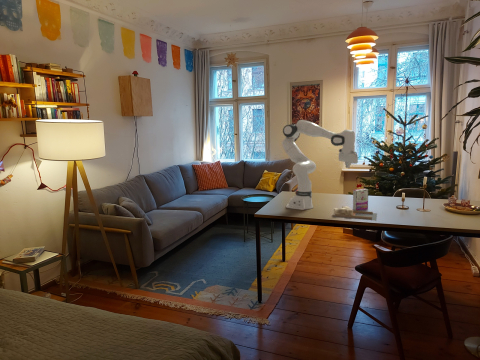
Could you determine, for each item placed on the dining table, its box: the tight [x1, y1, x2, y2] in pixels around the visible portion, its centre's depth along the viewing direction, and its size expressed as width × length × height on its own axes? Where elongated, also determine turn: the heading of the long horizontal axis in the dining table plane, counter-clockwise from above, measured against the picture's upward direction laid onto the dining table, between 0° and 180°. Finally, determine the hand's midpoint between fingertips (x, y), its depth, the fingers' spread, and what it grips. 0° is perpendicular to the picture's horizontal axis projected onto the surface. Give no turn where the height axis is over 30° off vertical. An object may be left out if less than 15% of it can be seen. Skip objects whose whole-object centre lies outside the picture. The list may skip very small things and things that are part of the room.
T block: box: [333, 205, 354, 216], centre depth 255 cm, size 12×12×5 cm
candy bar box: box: [352, 188, 369, 211], centre depth 269 cm, size 11×5×16 cm, turn 105°
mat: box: [332, 209, 378, 221], centre depth 253 cm, size 30×20×2 cm, turn 66°
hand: (347, 167), depth 266 cm, fingers closed
